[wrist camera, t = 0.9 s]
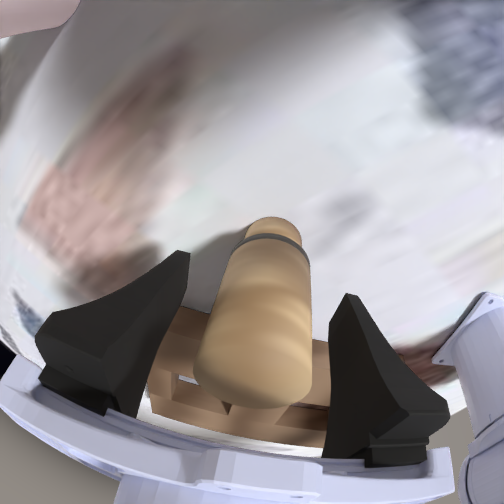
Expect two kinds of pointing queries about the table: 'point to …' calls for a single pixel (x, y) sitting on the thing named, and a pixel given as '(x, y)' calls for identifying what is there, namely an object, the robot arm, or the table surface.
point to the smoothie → (33, 15)
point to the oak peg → (260, 322)
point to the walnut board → (225, 414)
